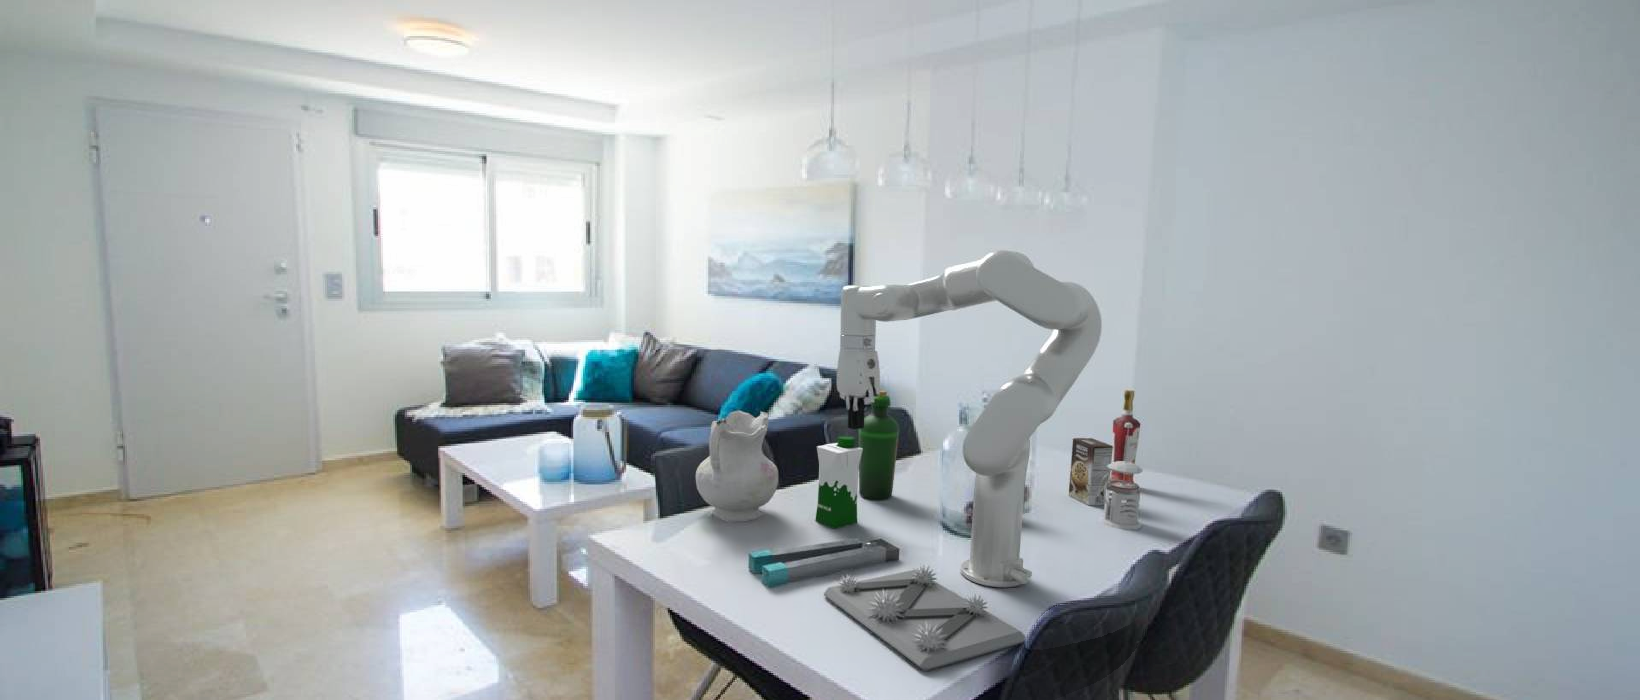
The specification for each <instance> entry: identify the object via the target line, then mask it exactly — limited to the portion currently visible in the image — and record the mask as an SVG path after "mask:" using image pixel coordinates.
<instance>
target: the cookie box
mask: <svg viewBox="0 0 1640 700" xmlns="http://www.w3.org/2000/svg"><path fill="white" fill-rule="evenodd" d="M1071 448H1072V449H1071V457H1070V458H1071V460H1070V461H1071V462H1070V471H1069V482H1068V483H1069V484H1068V485H1069V487H1068V496H1069V497H1070V498H1073V499H1075V500H1077V501H1078V502H1081V503H1083V504H1085V505H1087V506H1105V502H1103V501H1105V498H1104V487H1105V484H1106V482H1107V481H1108V479H1109V475H1107V474H1110V475H1111V470H1110V469H1108V467H1107V466H1108V465H1109V464H1111V463H1112V452H1113V446H1112V445H1111V444H1109V443H1106V442H1104V441H1100V440H1098V439H1095V438H1092V437H1090V438H1085V437H1077V438H1076V437H1075V438H1072V446H1071ZM1105 475H1107V476H1106V477H1105V478H1104V479H1103V477H1104V476H1105ZM1102 479H1103V481H1102V483H1101V480H1102ZM1109 481H1110V479H1109ZM1109 481H1108V482H1109ZM1108 482H1107V485H1106V487H1105V496H1106V488H1107V487H1108V486H1110V485H1109V484H1108ZM1100 483H1101V486H1100V495H1101V499H1102V500H1103V501H1102V500H1101V499H1100V496H1099V485H1100Z"/></svg>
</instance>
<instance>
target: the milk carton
mask: <svg viewBox="0 0 1640 700" xmlns="http://www.w3.org/2000/svg"><path fill="white" fill-rule="evenodd" d="M855 442H856V437H854V436H853V435H839V436H838V437H837V442H833V443H826V444H824V445H818V446H816V451H817V457H818V458H817V459H818V465H819V468H818V494H817V503H816V504H817V505H816V506H817V507H816V512H815V522H817V523H819V524H822V525H824V526H827V527H830V528H832V529H834V530H836V529H841V528H844V527H847V526H848V527H849V526H851V525H855V524H858V491H859V490H858V489H859V463H860V459H861V454H862V450H863V449H862V448H859V446H856V445H855V444H856V443H855Z"/></svg>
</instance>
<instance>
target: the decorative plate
mask: <svg viewBox="0 0 1640 700" xmlns="http://www.w3.org/2000/svg"><path fill="white" fill-rule="evenodd" d="M914 566H915V569H914V568H912V569H911V570H908V571H902V572H901V571H900V572H898V573H892V574H887V575H884V576H878V577H874V578H873V577H872V578H868V579H863V580H859V581H858V579H859V578H855V577H856V574H854V576H853V577H852V578H851V574H849V575H848V574H846V577H844V576H842V577H840V581H837V584H838V585H832V586H829V587H828V588H827V589H826V590H825V591H824V593H823V596H824V597H825V598H827V599H828V600H829V601H831V602H832V603H833V604H834V605H836V606H837V607H838V608H839V609H841V610H842V611H844V612H845V613H847V614H848V615H849V616H850V617H852V618H853V619H855V620H856V621H857V622H858V623H860V624H861V625H862V626H864V627H865V628H866V629H868V630H869V631H870V632H872V633H873V634H874V635H876V636H877V638H880V639H881V640H882V641H884V642H885V643H886V644H887V645H889V646H890V647H891V648H893V649H895V651H897V652H898V653H900V654H901V655H902V656H904V657H905V658H906V659H907V660H909V661H911V663H913V664H914V665H916V666H917V667H918V668H920V669H921V670H922V671H923V672H928V671H931V670H935V669H938V668H941V667H946V666H949V665H952V664H956V663H960V662H962V661H966V660H969V659H973V658H975V657H980V656H983V655H986V654H989V653H992V652H997V651H1000V650H1003V649H1007V648H1010V647H1014V646H1017V645H1021V644H1022V643H1024V642H1026V640H1025V639H1026V635H1025V634H1024V633H1023V632H1022V631H1021V630H1020V629H1018V628H1016V627H1014V626H1013V625H1011V624H1009V623H1008V622H1005V621H1003V620H1002V619H1001V618H999V617H997V616H995V615H994V614H992V613H990V612H988V611H987V610H985V609H988V606H986V604H988V601H986V602H984V601H985V598H984V597H983V598H981V597H982V595H979V596H978V597H977V594H974V593H971V597H970V596H968V595H966V596H967V597H963V596H961V595H959V594H957V593H956V592H954V591H952V590H951V589H949V588H947V587H945V586H943V585H942V584H940V583H939V582H936V581H935V580H937V579H938V578H937V577H934V576H935V575H936V574H938V573H936V572H935V573H932V572H934V568H932V569H930V566H931V565H928V566H927V568H925V564H923V565H922V564H921V563H920V565H919V566H920V569H919V568H918V567H917V566H916V565H914ZM929 569H930V570H929ZM973 594H974V595H973Z"/></svg>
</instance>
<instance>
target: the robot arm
mask: <svg viewBox="0 0 1640 700" xmlns="http://www.w3.org/2000/svg"><path fill="white" fill-rule="evenodd" d="M841 289H842V290H841V293H840V333H839V334H840V337H839V340H840V341H839V343H840V344H839V353H838V359H837V367H836V368H837V369H836V390H837V392H839V398H841V399H843V400H844V401H845V405H846V410H847V428H848V429H851V430H859V429H861V428H864V418H865V411H866V410H867V407H868V405H870V404H873V403H874V397H877V396H879V394H880V390H881V375H880V374H881V372H880V370H881V369H880V362H879V361H880V360H879V354H878V351H877V350H876V331H877V329H876V327H877V325H876V324H877V321H878V322H885V323H887V322H889V323H890V322H897V321H898V322H899V321H907V320H912V319H913V320H914V319H917V318H922V317H925V316H930V315H934V314H939V313H943V312H944V313H945V312H947V311H956V310H961V309H966V308H969V307H974V306H978V305H982V304H987V303H992V302H995V301H996V302H999V303H1001V304H1002V305H1003V306H1005V307H1007V308H1009V309H1010V310H1012V311H1014V312H1015V313H1017V314H1019V315H1020V316H1022V317H1024V318H1025V319H1027V320H1029V321H1030V322H1032V323H1034V324H1035V325H1037V326H1039V327H1042V328H1044V329H1047V330H1052V332H1051V334H1050V336H1049V337H1048V338H1047V340H1046V341H1045V343H1043V345H1042V346H1041V347H1040V348H1039V350H1038V352H1037V353H1036V355H1035V357H1034V358H1033V359H1032V360H1031V362H1030V363H1029V365H1028V366H1027V367H1026V368H1025V370H1024V371H1023V373H1021V374H1020V375H1018V376H1016V377H1014V378H1011V379H1010V380H1008V381H1005V383H1004V384H1003V385H1002V386H1000V387H999V389H997V390H996V392H995V393H994V394H993V396H992V397H991V398H990V400H989V401H988V403H987V404H986V406H985V407H984V409H983V410H982V411H981V413H980V414H979V416H978V417H977V418H976V419H975V421H974V423H973V424H972V426H971V427H970V429H969V431H968V432H967V434H966V436H965V438H964V440H963V443H962V455H963V460H964V462H965V463H966V465H967V466H968V468H969V469H970V470H971V471H972V472H974V473H975V479H974V488H973V501H972V515H971V516H972V518H971V519H972V521H971V534H970V535H971V536H970V550H969V558H968V559H967V560H965V561H963V562H962V563H961V566H960V567H961V568H960V572H961V575H963V576H964V578H966V579H968V580H969V581H971V582H974V583H976V584H980V585H983V586H987V587H991V588H992V587H993V588H1014V587H1018V586H1020V585H1026V584H1027V583H1028V582H1029V579H1030V578H1031V577H1032V575H1033V572H1032V571H1031V570H1029V569H1027V568H1024V558H1022V557H1020V555H1021V554H1020V553H1021V540H1022V539H1021V538H1022V527H1023V526H1022V525H1023V524H1022V523H1023V511H1024V499H1025V488H1026V487H1025V486H1026V480H1027V479H1026V478H1027V470H1028V466H1029V460H1030V455H1031V454H1030V453H1031V437H1032V435H1033V434H1034V432H1035V431H1036V430H1037V429H1038V427H1039V426H1041V425H1042V424H1043V423H1045V422H1047V420H1049V419H1050V418H1051V417H1052V416H1053V415H1054V413H1055V412H1056V410H1057V408H1058V407H1059V405H1060V404H1061V403H1062V401H1063V399H1064V398H1065V396H1066V395H1067V393H1068V392H1069V391H1070V390H1071V388H1072V387H1073V386H1074V384H1075V382H1076V381H1077V379H1078V378H1079V377H1080V375H1081V373H1082V372H1083V370H1085V368H1086V366H1087V365H1088V363H1089V362H1090V360H1091V359H1092V357H1094V356H1093V355H1094V354H1095V352H1096V350H1097V347H1098V346H1099V343H1100V338H1101V336H1102V335H1101V334H1102V329H1103V327H1102V314H1101V311H1100V308H1099V306H1098V304H1097V301H1096V300H1095V299H1094V297H1093V295H1092V294H1091V293H1090V291H1088V290H1087V289H1086V288H1085V287H1084V286H1082V285H1081V284H1078V283H1075V282H1072V281H1071V282H1070V281H1060V280H1058V279H1056V278H1054V277H1052V276H1051V275H1049V274H1046V273H1045V272H1042V271H1041V270H1040V269H1038V268H1036V267H1035V266H1034V265H1033V262H1032V261H1031V259H1030V258H1029V257H1028V256H1027V255H1025V254H1023V253H1022V252H1019V251H1012V250H1007V249H1006V250H1005V249H1003V250H1002V249H1001V250H995V251H992V252H990V253H988V254H987V255H986V256H984V257H983V258H981V259H977V260H973V261H970V262H969V261H968V262H965V263H962V264H961V263H960V264H956V265H952V266H949V267H947V268H945V269H944V270H943V272H942V273H941V274H939V275H936V276H934V277H932V278H928V279H925V280H921V281H916V282H913V283H908V284H907V283H906V284H885V285H884V284H883V285H875V286H871V285H862V284H860V285H859V284H856V285H846V286H844V287H843V288H841Z"/></svg>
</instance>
